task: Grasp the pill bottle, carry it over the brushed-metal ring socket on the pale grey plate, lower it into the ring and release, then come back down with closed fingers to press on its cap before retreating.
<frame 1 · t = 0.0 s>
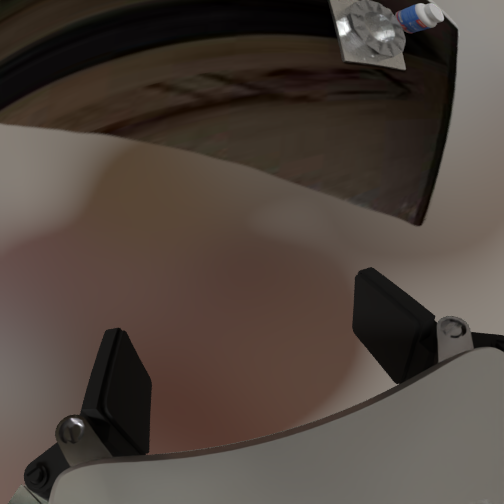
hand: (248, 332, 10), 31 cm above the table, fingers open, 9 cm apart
ring socket: (367, 32, 33), on the table
pill bottle: (403, 23, 33), on the table
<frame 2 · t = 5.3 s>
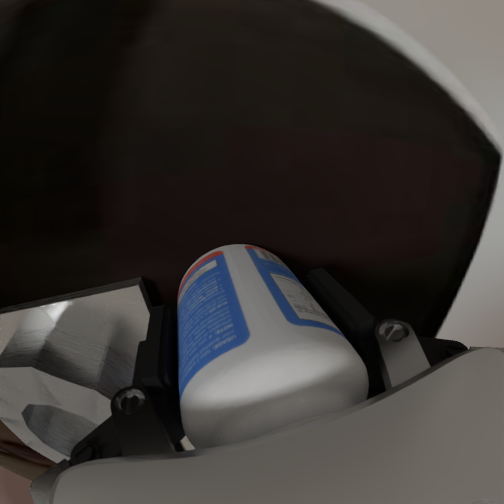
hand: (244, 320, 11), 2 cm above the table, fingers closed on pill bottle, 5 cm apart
ring socket: (84, 393, 13), on the table
pill bottle: (235, 293, 13), on the table, touching gripper
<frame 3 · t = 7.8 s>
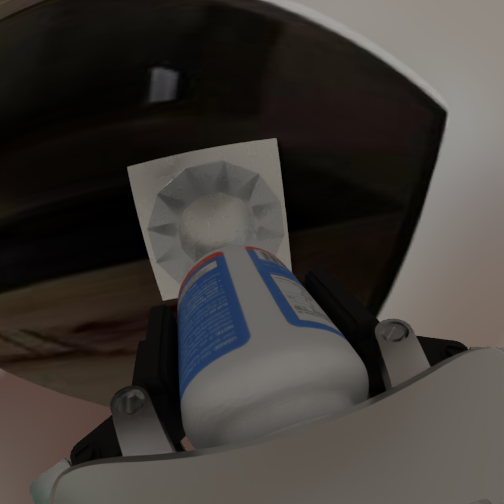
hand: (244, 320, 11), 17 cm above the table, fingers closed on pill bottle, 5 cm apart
ring socket: (214, 220, 27), on the table
pill bottle: (236, 294, 13), point 15 cm above the table, touching gripper
when the fingers open (5 cm above the table, at t = 10.6 s): pill bottle drops 2 cm, resting on ring socket.
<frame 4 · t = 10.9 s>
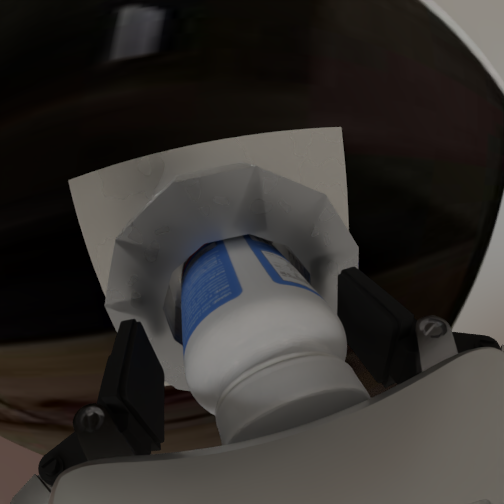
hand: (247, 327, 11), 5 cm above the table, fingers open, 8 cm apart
ring socket: (228, 271, 15), on the table
pill bottle: (233, 276, 15), point 1 cm above the table, touching ring socket
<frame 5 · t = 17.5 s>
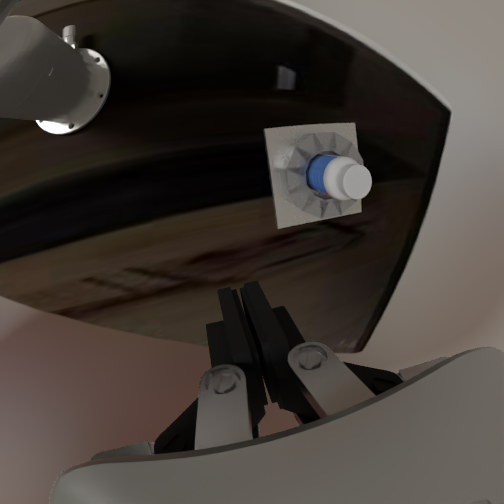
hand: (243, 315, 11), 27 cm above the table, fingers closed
ring socket: (316, 172, 38), on the table
pill bottle: (319, 172, 37), point 1 cm above the table, touching ring socket
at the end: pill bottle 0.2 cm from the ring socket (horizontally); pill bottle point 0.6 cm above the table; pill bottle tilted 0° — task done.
